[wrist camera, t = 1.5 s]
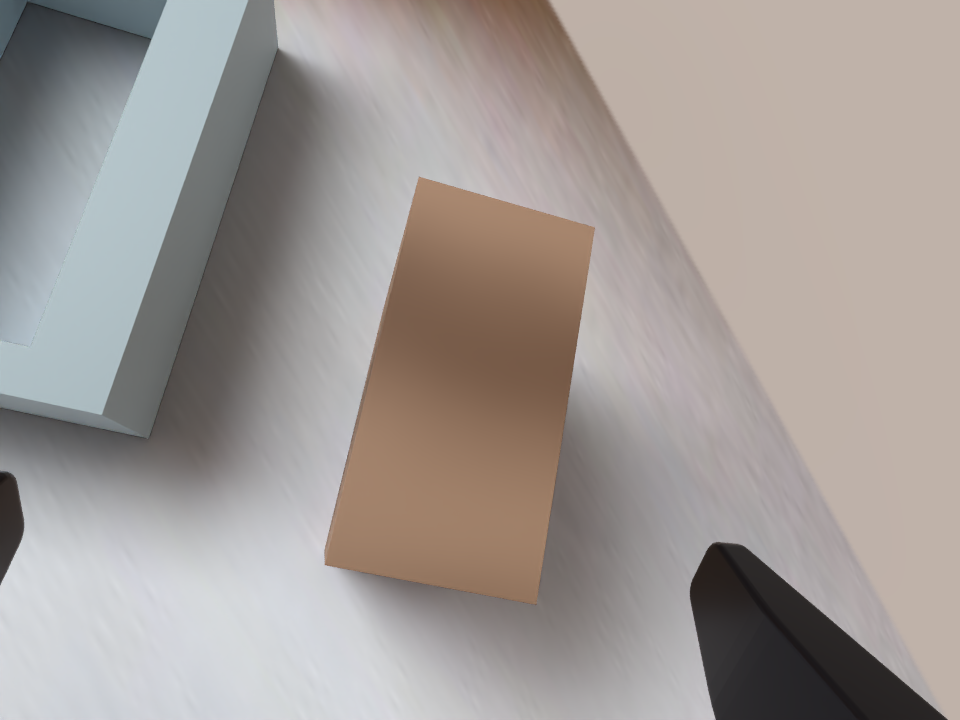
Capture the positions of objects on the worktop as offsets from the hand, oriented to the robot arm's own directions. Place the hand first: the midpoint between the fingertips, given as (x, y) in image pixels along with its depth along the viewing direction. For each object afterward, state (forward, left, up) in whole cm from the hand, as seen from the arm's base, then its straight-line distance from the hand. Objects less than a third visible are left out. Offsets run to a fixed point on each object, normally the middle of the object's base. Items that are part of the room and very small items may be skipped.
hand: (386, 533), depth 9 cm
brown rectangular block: (+3, -2, -13) cm, 13 cm away
